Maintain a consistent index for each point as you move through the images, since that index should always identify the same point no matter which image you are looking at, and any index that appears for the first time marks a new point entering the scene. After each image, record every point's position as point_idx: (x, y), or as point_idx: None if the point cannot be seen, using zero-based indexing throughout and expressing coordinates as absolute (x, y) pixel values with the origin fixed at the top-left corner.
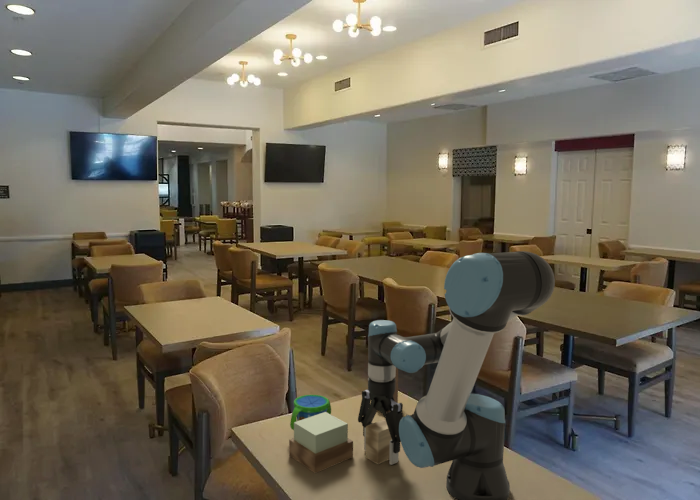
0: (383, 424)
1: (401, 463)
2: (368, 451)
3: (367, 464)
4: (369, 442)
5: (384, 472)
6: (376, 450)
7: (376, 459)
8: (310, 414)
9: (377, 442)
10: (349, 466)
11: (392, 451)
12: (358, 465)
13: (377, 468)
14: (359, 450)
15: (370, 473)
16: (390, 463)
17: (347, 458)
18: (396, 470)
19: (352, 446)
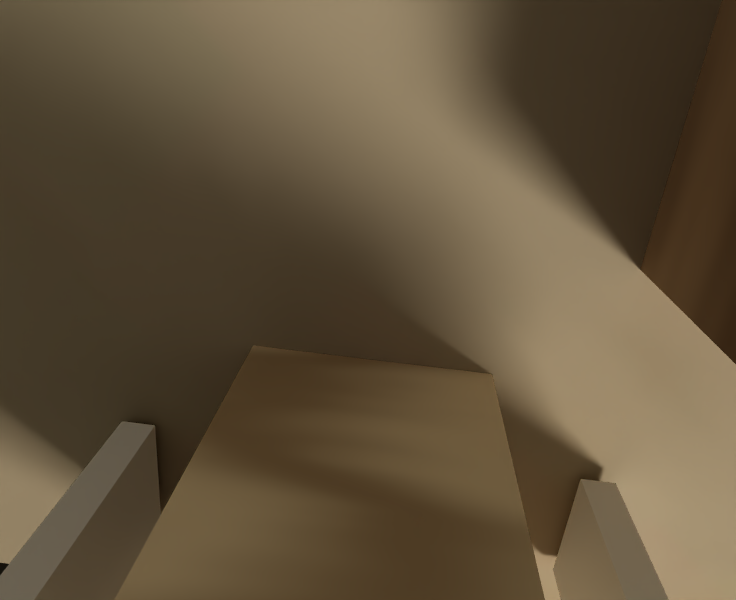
0: None
1: None
2: (439, 427)
3: (345, 254)
4: (422, 550)
5: (54, 253)
6: (236, 464)
7: (270, 376)
8: None
9: (141, 597)
10: (510, 14)
11: (20, 569)
12: (421, 145)
13: (182, 266)
14: (665, 444)
15: (141, 99)
16: (130, 431)
17: (679, 164)
18: (13, 378)
19: (724, 333)
